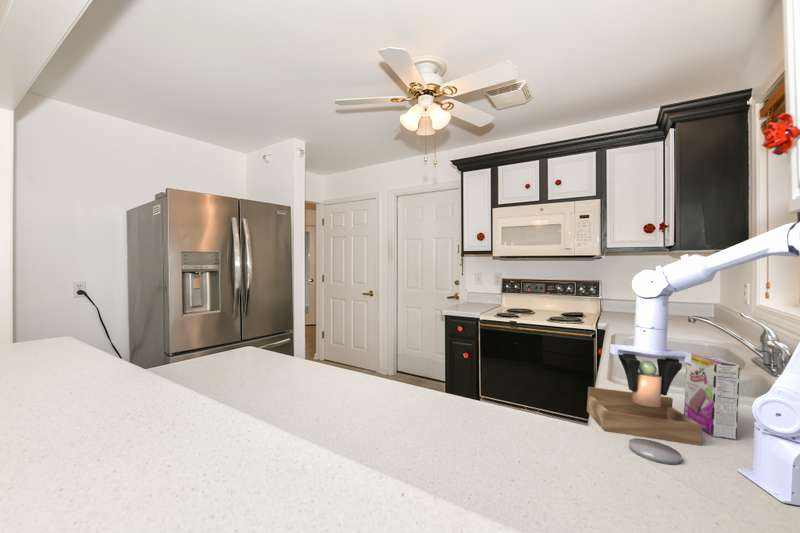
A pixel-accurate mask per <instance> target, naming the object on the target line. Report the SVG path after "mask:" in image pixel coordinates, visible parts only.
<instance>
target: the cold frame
mask: <svg viewBox="0 0 800 533" xmlns="http://www.w3.org/2000/svg"><path fill="white" fill-rule="evenodd" d="M673 402H674V399H673V398H672V397H670V396H664V395H661V407H649V406H644V405H641V404H637V403H635V402H633V401H632V391H623V390H617V389H608V388H602V387H601V388H600V387H593V386H588V387H587V401H586V403H587V404H586V412H587V414H589V415H590V417H592V418H591V419H593V420H594V421H595V422H596V423H597V425H598V426H599V427H600V428H601V429H602V431H604V432H609V433H616V434H623V435H628V436H636V437H640V438H641V437H642V438H648V439H655V440H660V441H661V440H662V441H668V442H675V443H681V444H689V445H693V446H694V445H695V446H700V447H701V446H702V445H701V444H702V431H703V430H702V426H701V425H700V424H698V423H696V422H695V421H693V420H692V419H690V418H688V417H687V416H685V415H684V413H682V412H681V411H678V410H677V409H675V408H674V407H673Z"/></svg>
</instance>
